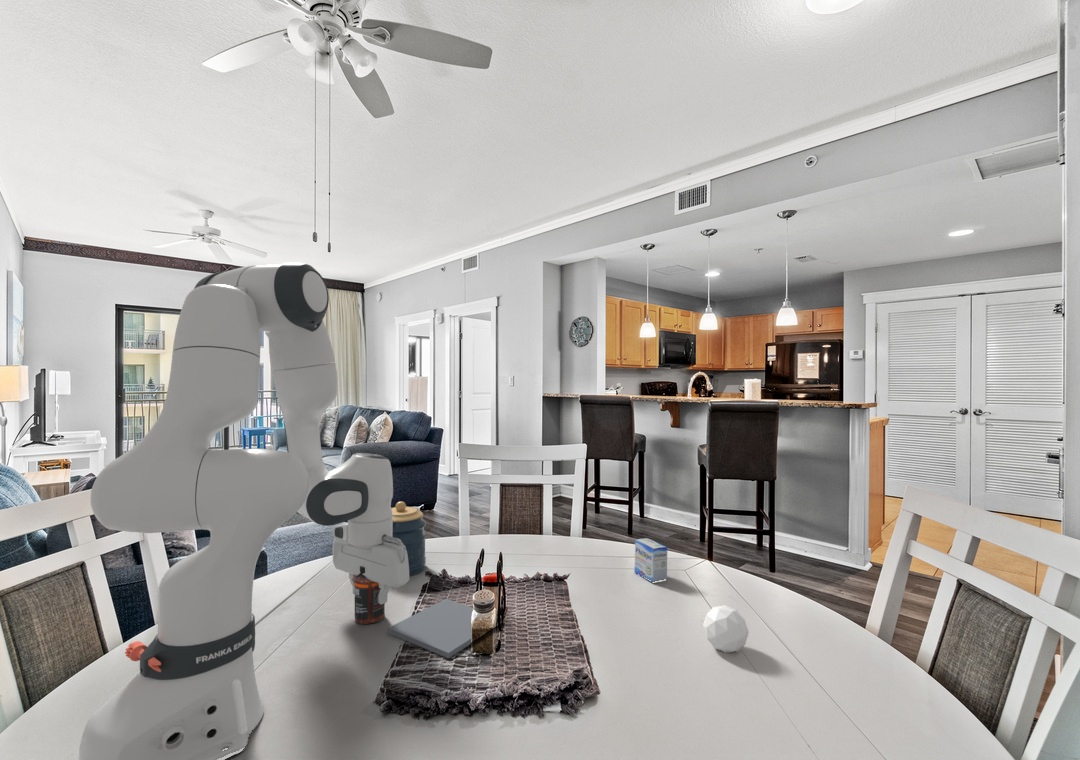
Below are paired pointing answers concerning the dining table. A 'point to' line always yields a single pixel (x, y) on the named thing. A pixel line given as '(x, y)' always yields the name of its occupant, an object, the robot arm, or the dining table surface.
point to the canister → (410, 534)
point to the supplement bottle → (367, 600)
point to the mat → (438, 628)
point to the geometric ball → (725, 628)
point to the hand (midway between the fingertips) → (369, 598)
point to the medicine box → (650, 559)
